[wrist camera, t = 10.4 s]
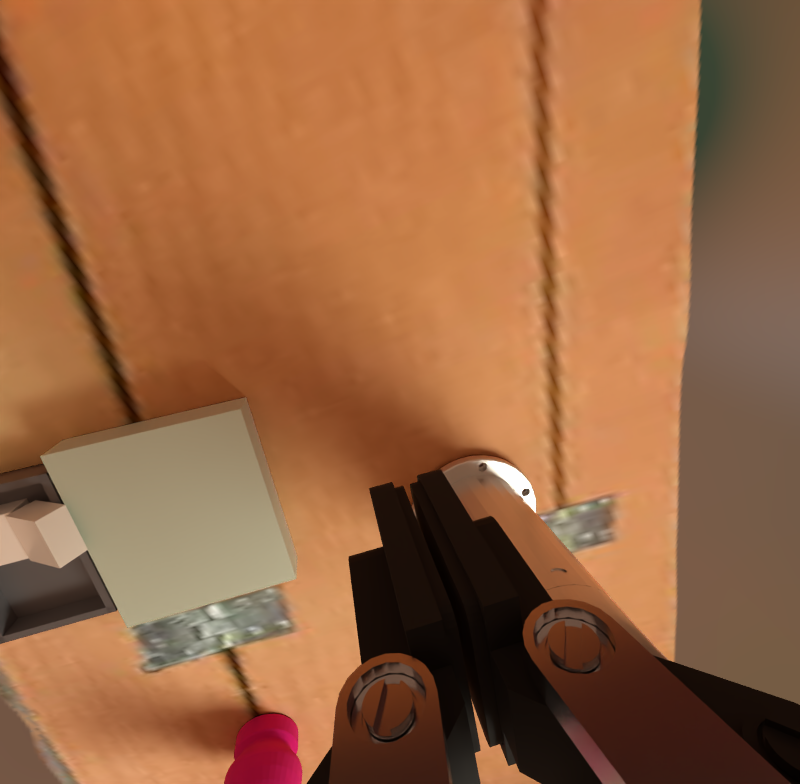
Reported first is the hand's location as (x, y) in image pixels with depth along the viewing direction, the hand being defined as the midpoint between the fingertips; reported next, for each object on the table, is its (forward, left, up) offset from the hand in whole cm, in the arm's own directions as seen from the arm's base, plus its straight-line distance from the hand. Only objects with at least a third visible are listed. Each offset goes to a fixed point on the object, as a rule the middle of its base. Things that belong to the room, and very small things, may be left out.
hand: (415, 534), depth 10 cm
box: (+12, +27, -27) cm, 40 cm away
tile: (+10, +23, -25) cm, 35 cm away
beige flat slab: (+3, +19, -27) cm, 33 cm away
